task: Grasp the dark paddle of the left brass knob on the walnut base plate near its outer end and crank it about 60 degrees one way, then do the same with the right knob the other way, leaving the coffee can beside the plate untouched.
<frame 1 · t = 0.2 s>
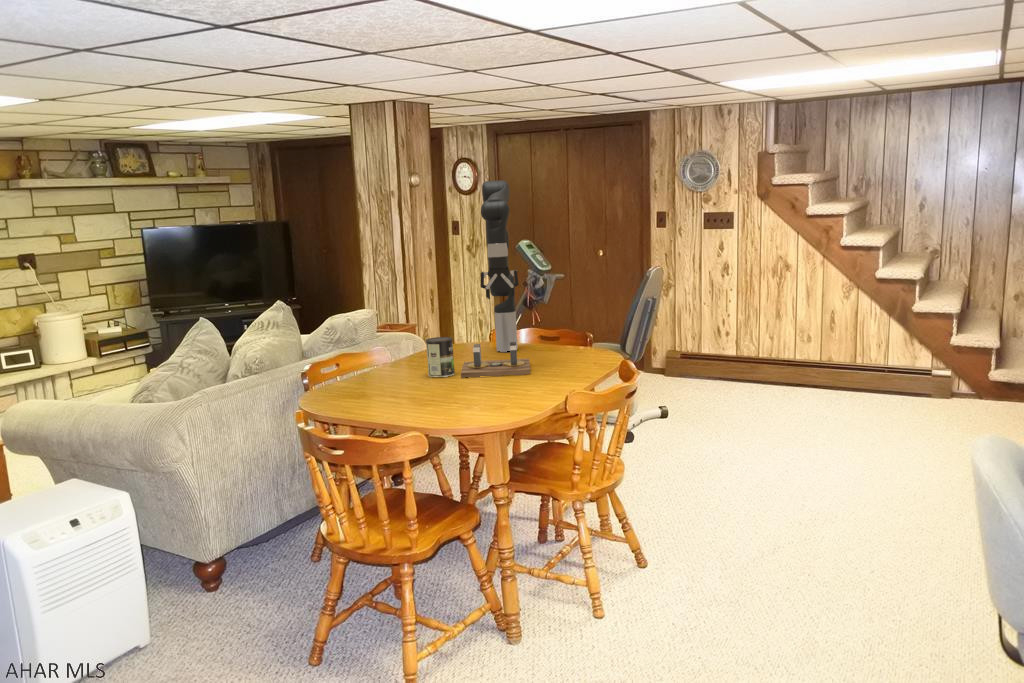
hand: (500, 298, 307), 28 cm above the table, tool pointing down, fingers open, 8 cm apart
knob 2: (513, 354, 314), point 6 cm above the table, hinge at 0.0°
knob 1: (477, 356, 314), point 6 cm above the table, hinge at 0.0°
coffee can: (441, 375, 312), on the table
base plate: (496, 370, 315), on the table
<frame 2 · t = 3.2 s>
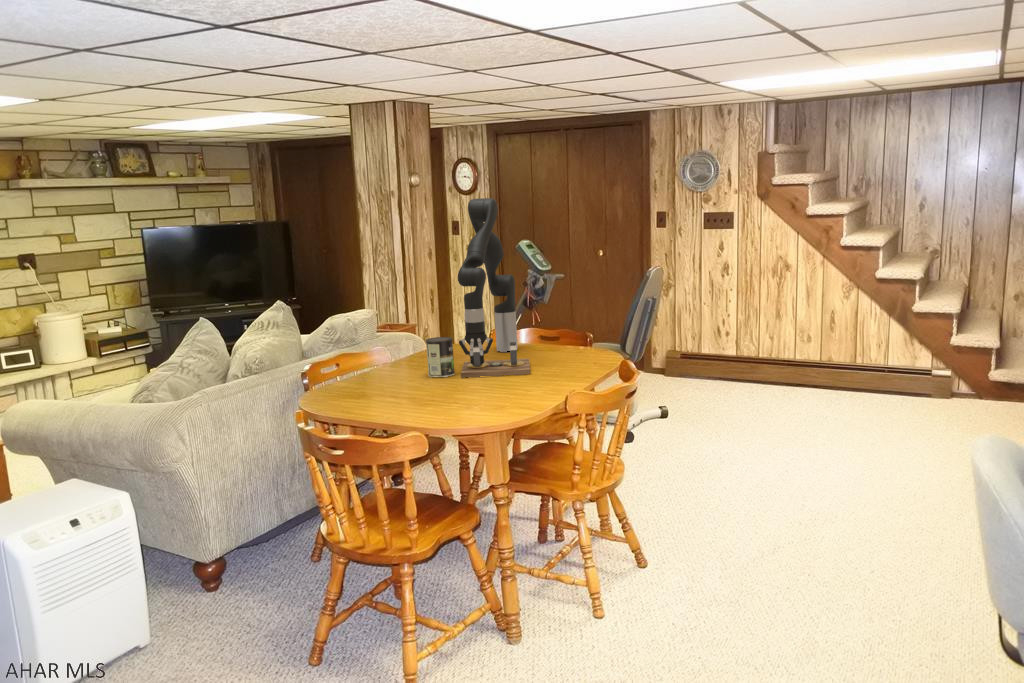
hand: (477, 364, 311), 3 cm above the table, tool pointing down, fingers closed on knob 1, 2 cm apart
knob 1: (477, 356, 314), point 6 cm above the table, hinge at 0.0°, touching gripper
everything else where it was.
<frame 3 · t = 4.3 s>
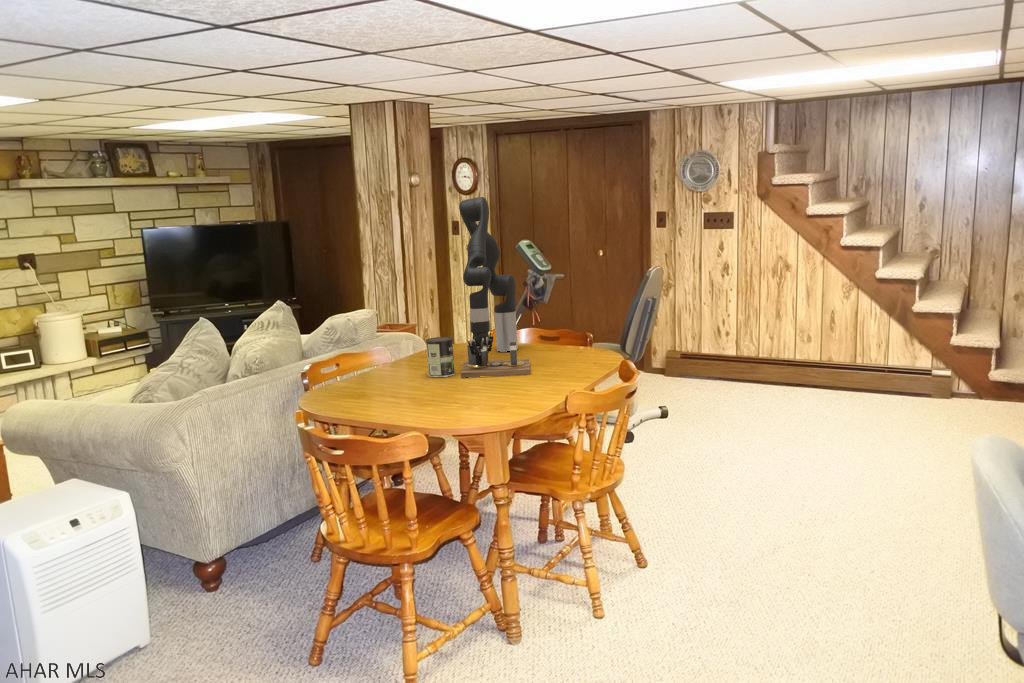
hand: (482, 364, 312), 3 cm above the table, tool pointing down, fingers closed on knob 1, 3 cm apart
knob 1: (477, 356, 314), point 6 cm above the table, hinge at 39.1°, touching gripper
everything else where it was.
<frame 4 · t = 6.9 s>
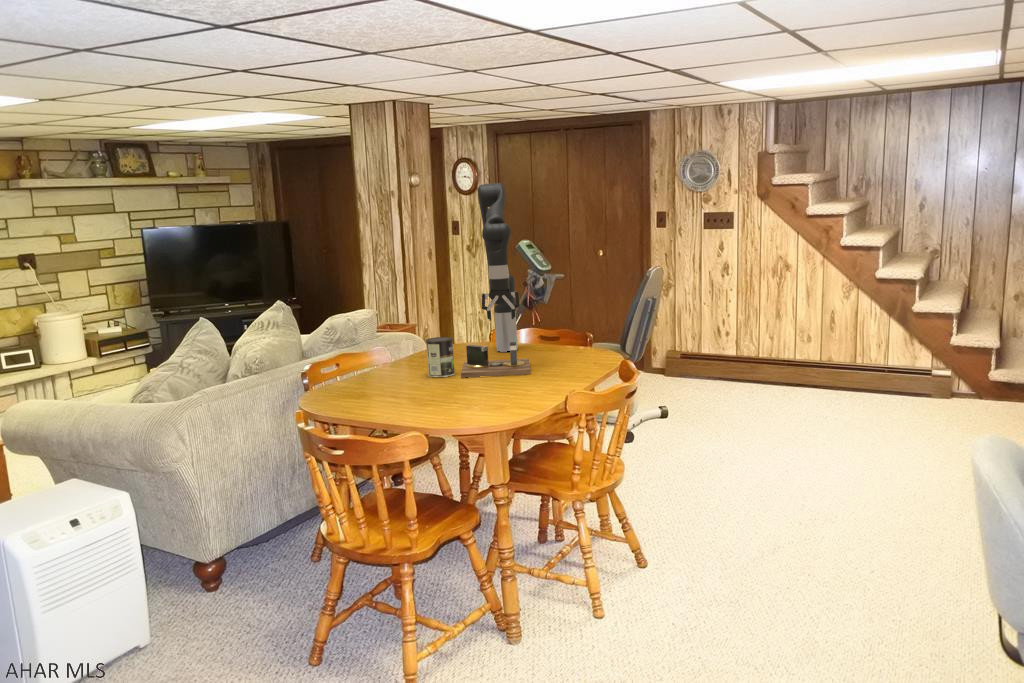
hand: (501, 319, 309), 20 cm above the table, tool pointing down, fingers open, 8 cm apart
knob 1: (477, 356, 314), point 6 cm above the table, hinge at 49.0°
everything else where it was.
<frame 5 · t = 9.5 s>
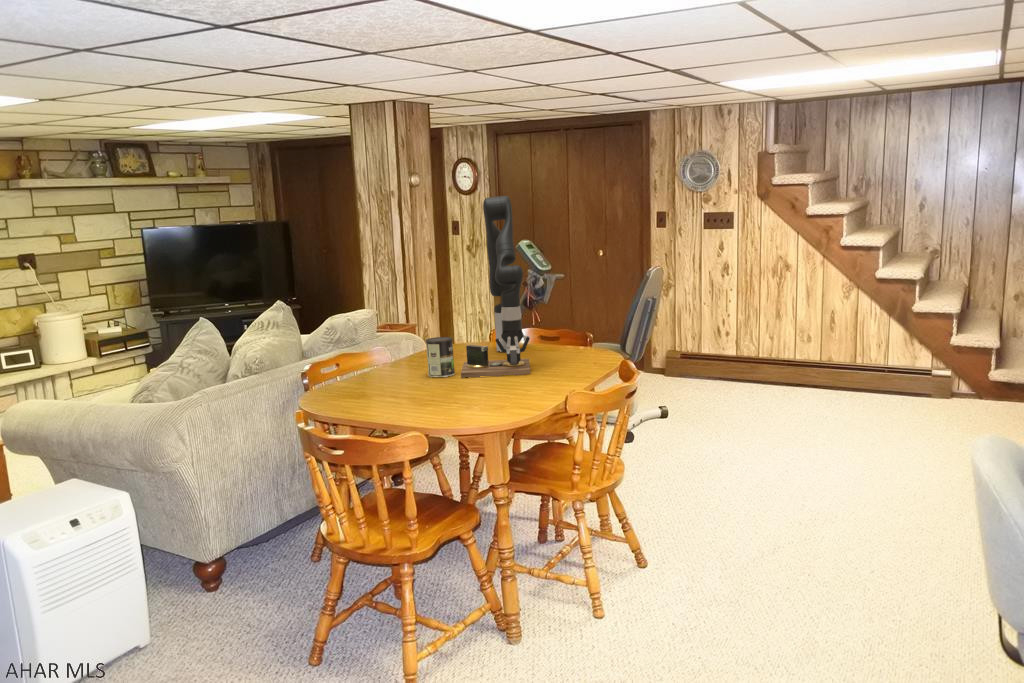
hand: (513, 362, 311), 3 cm above the table, tool pointing down, fingers closed on knob 2, 2 cm apart
knob 2: (513, 354, 314), point 6 cm above the table, hinge at 0.0°, touching gripper
everything else where it was.
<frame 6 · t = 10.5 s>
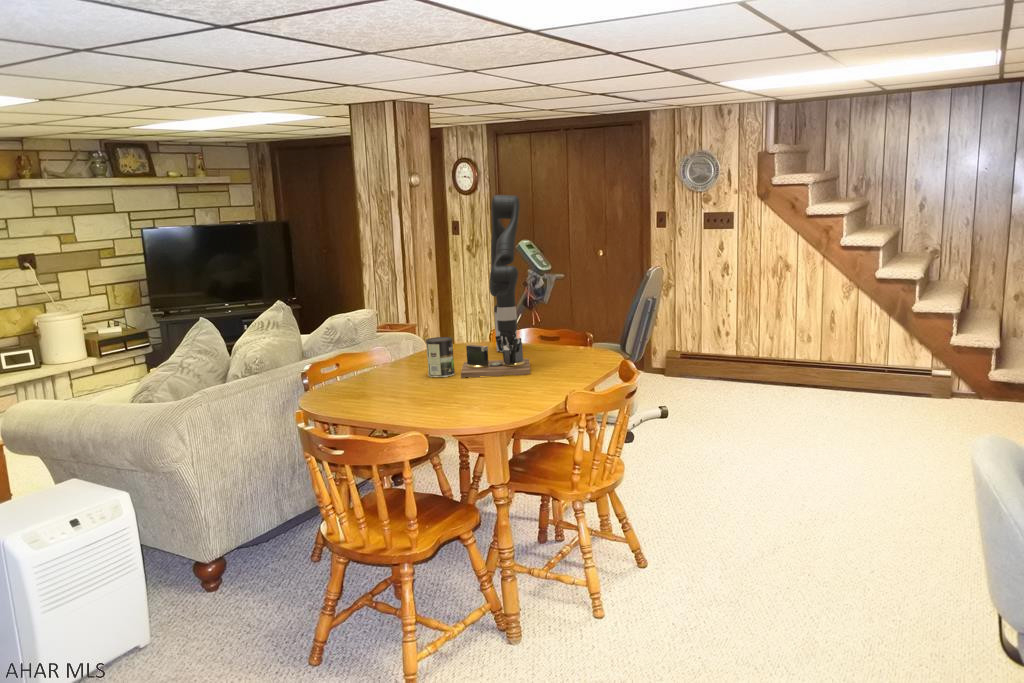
hand: (509, 362, 312), 3 cm above the table, tool pointing down, fingers closed on knob 2, 3 cm apart
knob 2: (513, 354, 314), point 6 cm above the table, hinge at -34.6°, touching gripper
everything else where it was.
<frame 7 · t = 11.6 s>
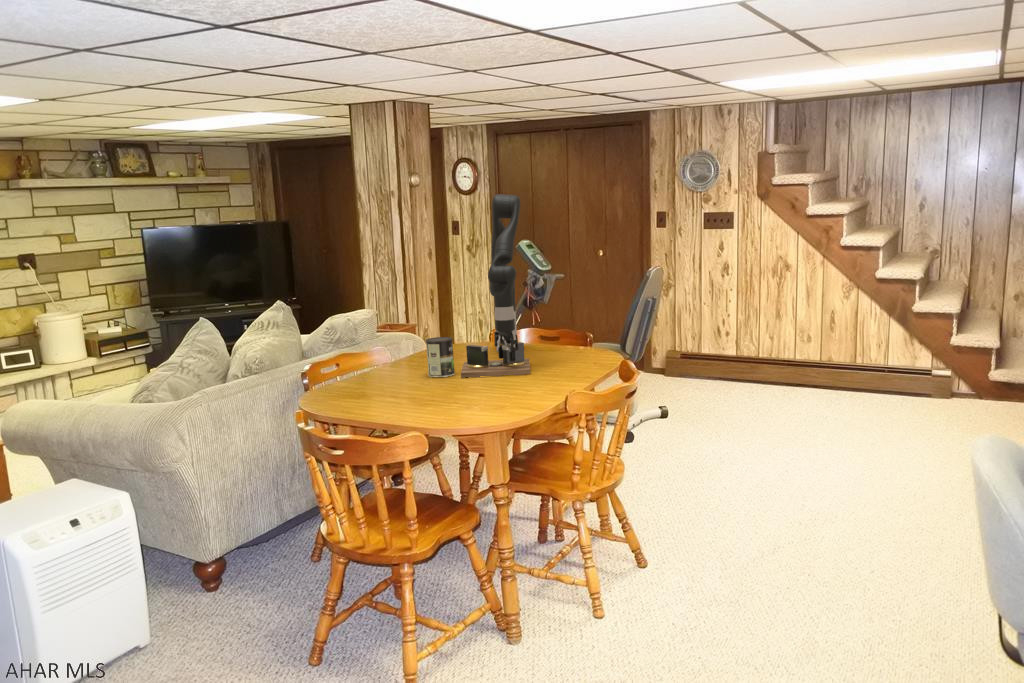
hand: (507, 359, 312), 4 cm above the table, tool pointing down, fingers open, 8 cm apart
knob 2: (513, 354, 314), point 6 cm above the table, hinge at -48.1°
everything else where it was.
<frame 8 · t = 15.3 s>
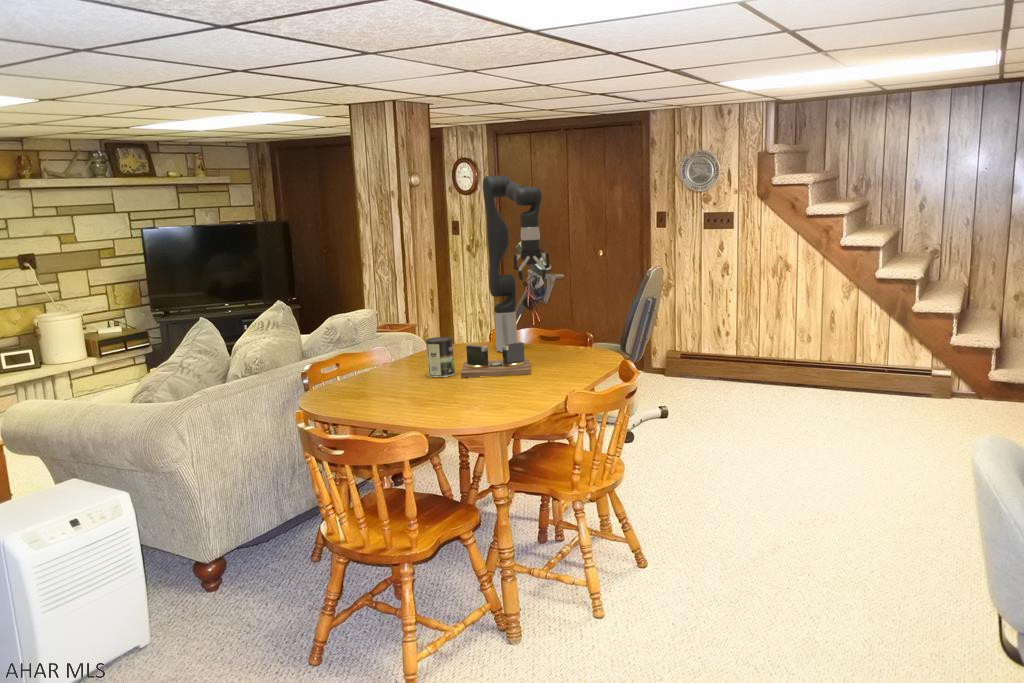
hand: (532, 279, 323), 33 cm above the table, tool pointing down, fingers open, 8 cm apart
nothing on the table moved.
at the end: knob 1 at +49° (first picture: +0°); knob 2 at -48° (first picture: +0°); the gripper is holding nothing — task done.
